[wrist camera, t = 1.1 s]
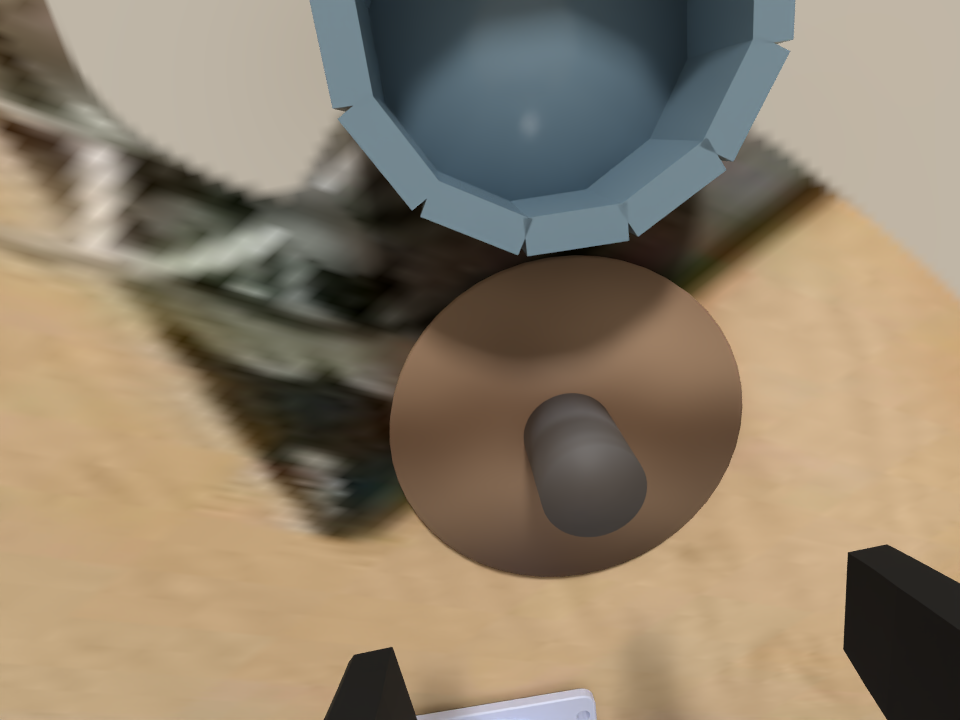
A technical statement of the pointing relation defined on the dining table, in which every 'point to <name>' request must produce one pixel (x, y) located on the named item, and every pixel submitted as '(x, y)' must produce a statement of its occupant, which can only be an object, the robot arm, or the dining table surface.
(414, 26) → the bowl
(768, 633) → the dining table surface
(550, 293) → the lid
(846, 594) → the robot arm
